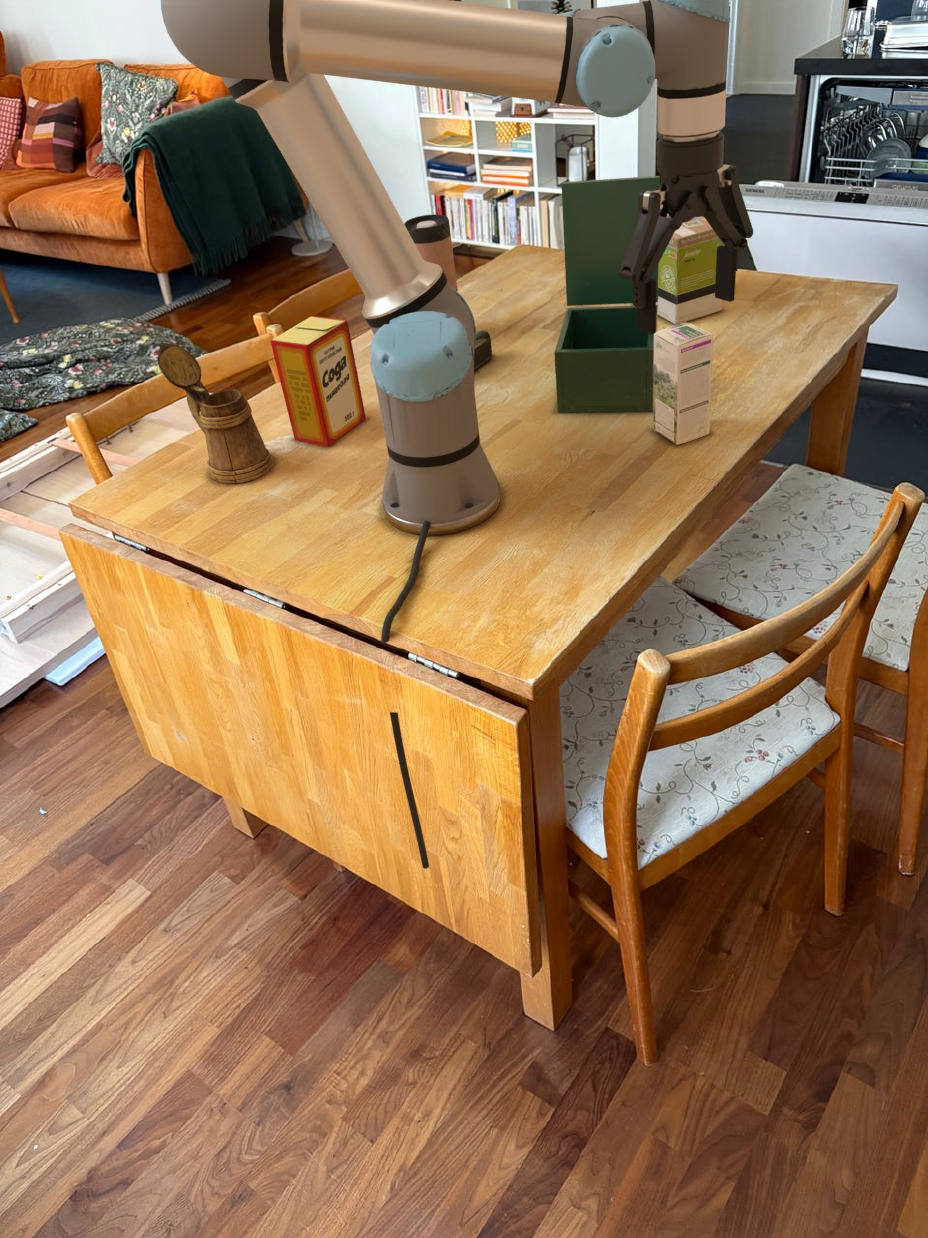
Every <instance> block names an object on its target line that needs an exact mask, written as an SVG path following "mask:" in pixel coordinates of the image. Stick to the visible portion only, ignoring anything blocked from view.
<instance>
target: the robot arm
mask: <svg viewBox="0 0 928 1238" xmlns="http://www.w3.org/2000/svg"><path fill="white" fill-rule="evenodd" d="M160 10H161V16H162V20H163V24H164V26H165V29H166V32H167V34H168V36H169V38H170V40H171V42H172V43H173V45H174V47H175V48H176V50H177V51H178V52H179V54H180V55H181V56H183V58H185V60H186V61H188V62H189V64H191V65H193V66H195V67H196V68H197V69H198V70H200V71H202V72H204V73H207V74H208V75H211V76H214V77H219V78H220V79H221V80H222V81H223V84H224V85H225V87H226V88H227V90H228V91H229V93H230V95H231V97H232V99H233V100H234V101H235V103H236V104H240V105H243V106H246V107H249V108H252V109H253V110H255V111H256V113H257V114H258V116H259V117H260V119H261V121H262V123H263V125H264V126H265V128H266V130H267V131H268V133H269V134H270V136H271V138H272V140H273V141H274V143H275V145H276V147H277V148H278V150H279V152H280V153H281V155H282V156H283V158H284V160H285V162H286V163H287V165H288V167H289V169H290V171H291V172H292V173H293V175H294V177H295V179H296V180H297V182H298V184H299V186H300V187H301V189H302V190H303V192H304V194H305V196H306V197H307V199H308V201H309V202H310V205H311V206H312V208H313V210H314V212H315V213H316V215H317V216H318V218H319V220H320V221H321V223H322V225H323V226H324V228H325V230H326V232H327V234H328V236H329V237H330V239H331V240H332V242H333V244H334V245H335V247H336V248H337V250H338V253H339V254H340V256H341V257H342V259H343V261H344V262H345V264H346V266H347V267H348V270H349V271H350V272H351V274H352V276H353V278H354V279H355V282H356V283H357V285H358V286H359V288H360V290H361V291H362V293H363V295H364V301H363V306H362V310H361V314H362V317H363V318H364V320H365V321H366V323H367V325H368V327H369V328H370V330H371V332H372V333H373V337H372V340H371V342H370V370H371V374H372V376H373V379H374V383H375V388H376V389H375V390H376V395H377V399H378V405H379V410H380V416H381V417H380V418H381V423H382V427H383V433H384V440H385V444H386V451H387V456H388V460H387V465H386V471H385V477H384V483H383V489H382V499H381V502H382V507H383V513H384V517H385V518H386V520H387V521H388V522H389V523H390V524H391V525H392V526H394V527H395V528H397V529H399V530H401V531H404V532H407V533H411V534H416V535H419V536H418V539H417V543H416V546H415V550H414V554H413V558H412V563H411V568H410V573H409V575H408V579H407V581H406V583H405V585H404V587H403V589H402V590H401V591H400V592H399V593H400V594H399V595H398V596H397V598H396V600H395V602H394V603H393V605H392V607H391V608H390V609H389V611H388V612H387V613H386V616H385V618H384V621H383V625H382V629H381V637H380V638H381V639H380V641H381V643H382V644H386V643H388V642H389V640H390V637H391V636H390V635H391V628H392V626H393V625H392V624H393V621H394V620H395V617H396V616H397V614H398V613H399V611H400V610H401V608H402V607H403V605H404V603H405V601H406V600H407V598H408V596H409V594H410V593H411V591H412V590H413V588H414V586H415V584H416V581H417V578H418V574H419V572H420V571H419V570H420V563H421V559H422V555H423V551H424V548H425V545H426V541H427V538H428V535H429V536H434V535H446V534H453V533H457V532H461V531H464V530H467V529H470V528H473V527H475V526H477V525H479V524H480V523H482V522H484V521H485V520H487V519H488V518H489V517H491V516H492V515H493V514H494V513H495V512H496V510H497V509H498V507H499V505H500V503H501V491H500V490H501V489H500V483H499V480H498V478H497V475H496V473H495V471H494V469H493V467H492V464H491V463H490V461H489V459H488V456H487V454H486V453H485V450H484V449H483V446H482V443H481V438H480V431H479V430H480V429H479V419H478V410H477V402H476V393H475V370H474V347H475V342H476V333H477V328H476V321H475V317H474V313H473V311H472V310H471V307H470V306H469V304H468V303H467V301H466V299H465V298H464V296H463V295H462V294H461V293H460V292H459V291H458V292H457V291H456V290H455V289H454V288H452V287H451V285H450V283H449V281H448V279H447V277H446V276H445V274H444V272H443V270H442V268H441V267H440V266H439V265H437V264H434V263H430V262H427V261H425V260H423V258H422V256H421V255H420V253H419V251H418V249H417V247H416V245H415V243H414V242H413V240H412V238H411V236H410V234H409V232H408V230H407V229H406V227H405V225H404V223H405V222H404V221H403V219H402V218H401V216H400V214H399V211H398V210H397V207H395V204H394V203H393V201H392V199H391V197H390V195H389V193H388V191H387V189H386V188H385V186H384V184H383V182H382V180H381V178H380V176H379V175H378V173H377V171H376V169H375V167H374V165H373V163H372V161H371V160H370V158H369V156H368V154H367V152H366V150H365V148H364V146H363V145H362V143H361V141H360V139H359V137H358V136H357V134H356V132H355V130H354V128H353V126H352V125H351V122H350V121H349V119H348V116H347V115H346V113H345V111H344V109H343V108H342V106H341V104H340V102H339V100H338V98H337V96H336V95H335V93H334V91H333V89H332V87H331V86H330V83H329V81H328V79H327V78H326V76H330V77H339V78H340V77H341V78H347V79H348V78H349V79H356V80H364V81H373V82H380V83H381V82H382V83H391V84H398V85H406V86H414V87H424V88H432V89H440V90H441V89H442V90H449V91H456V92H465V93H473V94H481V95H490V96H496V97H497V96H498V97H506V98H515V99H523V100H531V101H532V100H533V101H540V102H549V103H554V104H560V105H565V106H572V107H573V106H574V107H581V108H587V109H588V110H589V111H591V112H592V113H595V114H596V115H598V116H602V117H606V118H613V119H614V118H621V117H624V116H627V115H629V114H631V113H633V112H634V111H636V110H637V109H638V108H640V107H641V105H642V104H643V103H644V102H645V101H646V100H647V98H648V96H649V95H650V93H651V91H652V89H653V86H654V83H655V80H656V82H657V87H656V93H657V97H656V98H657V103H656V104H657V106H656V108H657V109H656V111H657V112H656V115H657V116H656V117H657V119H656V122H657V124H656V128H657V129H656V131H657V132H658V134H659V135H660V136H659V138H658V140H656V170H657V172H658V174H659V176H660V188H659V190H657V191H647V190H642V191H641V192H640V193H639V200H638V212H637V215H636V218H635V222H634V225H633V228H632V231H631V234H630V237H629V241H628V244H627V247H626V250H625V253H624V256H623V260H622V263H621V266H620V269H619V273H618V274H619V277H620V278H624V279H627V280H630V281H632V282H633V303H632V304H633V306H634V307H636V315H637V330H640V331H643V332H646V333H648V334H651V335H652V334H654V333H656V280H653V279H651V277H652V275H653V273H654V271H655V269H656V267H657V265H658V263H659V261H660V259H661V257H662V255H663V254H664V252H665V250H666V248H667V246H668V244H669V242H670V240H671V238H672V236H673V234H674V232H675V231H676V230H678V229H679V228H680V227H681V225H682V223H683V222H687V221H690V220H691V219H693V218H694V217H701V216H702V217H704V218H705V219H706V220H707V222H708V223H709V225H710V226H711V227H712V229H713V230H714V232H715V233H716V234H717V236H718V237H719V239H720V240H721V241H722V243H723V244H725V246H722V245H721V246H718V247H717V258H716V281H715V298H718V299H722V301H725V302H729V303H732V302H734V301H735V297H736V277H737V272H738V269H739V265H740V249H746V247H747V246H748V242H749V240H748V239H751V238H752V237H753V236H754V228H753V225H752V222H751V221H752V220H751V218H750V216H749V212H748V209H747V207H746V202H745V200H744V196H743V194H742V191H741V187H740V185H739V182H740V181H739V167H738V166H736V165H731V164H724V151H725V150H724V147H725V134H723V132H722V131H721V130H723V128H724V127H725V126H726V107H727V106H726V105H727V103H726V102H727V71H728V70H727V69H728V53H729V32H730V23H731V17H730V0H644V1H641V2H634V3H625V4H617V5H609V6H601V7H592V8H585V9H584V8H583V9H581V8H575V9H574V10H572V11H571V10H570V11H567V12H562V13H561V12H560V13H557V14H555V13H548V12H542V11H541V12H539V11H533V10H525V9H517V8H510V7H503V6H497V5H496V6H495V5H487V4H481V3H473V2H472V3H471V2H467V1H466V2H464V1H459V0H458V1H457V0H160ZM716 191H718V195H719V197H720V199H719V198H718V196H717V195H716ZM720 200H721V201H720ZM667 214H668V215H669V216H670V217H671V218H672V219H671V218H667V217H666V216H667ZM630 268H631V269H630ZM643 268H645V269H644V271H642V269H643ZM389 715H390V716H389V717H390V722H391V728H392V733H393V739H394V745H395V749H396V754H397V760H398V764H399V765H398V766H399V769H400V774H401V779H402V782H403V786H404V791H405V796H406V800H407V804H408V808H409V812H410V816H411V817H410V818H411V821H412V825H413V830H414V833H415V839H416V842H417V847H418V852H419V857H420V860H421V866H422V868H423V869H424V870H427V869H429V868H430V863H429V858H428V854H427V848H426V844H425V840H424V834H423V830H422V825H421V820H420V816H419V813H418V812H419V811H418V807H417V803H416V799H415V798H416V797H415V794H414V790H413V786H412V781H411V776H410V771H409V768H408V762H407V757H406V752H405V748H404V741H403V736H402V730H401V724H400V718H399V712H397V711H395V712H393V711H389Z"/></svg>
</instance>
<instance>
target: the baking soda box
mask: <svg viewBox="0 0 928 1238" xmlns="http://www.w3.org/2000/svg"><path fill="white" fill-rule="evenodd" d="M270 346H271V349H272V354H273V358H274V362H275V365H276V369H277V373H278V374H277V375H278V378H279V382H280V385H281V390H282V394H283V398H284V402H285V406H286V411H287V414H288V418H289V422H290V423H289V424H290V427H291V432H292V434H293V439H294V441H296V442H299V443H300V442H301V443H306V444H311V445H314V446H315V445H316V446H318V447H319V446H320V447H324V448H330V447H331V446H333V445H334V444H335V443H337V442H338V441H339V440H341V439H342V438H344V436H346V435H347V434H349V433H350V432H351V431H353V430H354V429H355V428H356V427H358V426H359V425H361V424H362V423H363V422H364V421H366V420H367V417H366V411H365V407H364V401H363V397H362V395H363V394H362V390H361V386H360V380H359V376H358V370H357V363H356V359H355V353H354V349H353V342H352V338H351V333H350V327H349V322H348V320H347V319H340V318H332V317H325V316H318V315H310V316H309V317H307V318H306V319H304V320H302V321H301V322H299V323H298V324H296V325H294V326H293V327H291V328H289V329H287V330H286V331H284V332H281V334H279V335H277V336H276V337H274V338H272V339H270Z"/></svg>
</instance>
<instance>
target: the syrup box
mask: <svg viewBox="0 0 928 1238" xmlns="http://www.w3.org/2000/svg"><path fill="white" fill-rule="evenodd" d="M713 352H714V334H713V333H711V332H709V331H707V330H705V329H703V328H702V327H699V326H697V325H696V324H692V323H690V322H689V321H687V322H683V323H680V324H676V325H675V324H673V325H670V326H667V327H664V328H662V329H660V330H657V332H656V333H654V402H653V431H654V432H656V433H657V434H659V435H660V436H662V437H664V438H665V439H667V440H668V441H670V442H671V443H673V444H674V445H676V446H679V445H682V444H685V443H689V442H692V441H694V440H696V439H700V438H702V437H705V436H708V435H710V427H711V426H710V425H711V423H710V422H711V401H712V400H711V398H712V377H713V376H712V374H713V354H714V353H713Z"/></svg>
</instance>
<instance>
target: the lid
mask: <svg viewBox="0 0 928 1238" xmlns="http://www.w3.org/2000/svg"><path fill="white" fill-rule="evenodd" d="M660 185H661V176H660V175H656V176H655V175H654V176H653V175H651V176H639V177H637V176H636V177H635V176H633V177H622V178H621V177H619V178H606V179H605V178H604V179H592V180H591V179H590V180H578V181H577V180H576V181H564V182H561V203H562V206H561V207H562V227H563V249H564V250H563V251H564V271H565V272H564V273H565V288H566V289H565V291H566V292H565V294H566V306H567V307H570V306H571V307H573V306H574V307H575V306H600V305H621V304H622V305H625V304H633V282H632V281H630V280H627V279H624V278H620V277H619V274H618V273H619V269H620V266H621V263H622V260H623V256H624V253H625V250H626V247H627V244H628V241H629V237H630V234H631V231H632V228H633V225H634V222H635V218H636V215H637V212H638V200H639V193H640V192H641V191H642V190H647V191H657V190H659V188H660ZM630 269H631V268H630ZM644 269H645V268H643V269H642V271H644ZM651 279H653V280H656V302H658V265H657V267H656V269H655V271H654V273H653V275H652V277H651Z"/></svg>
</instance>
